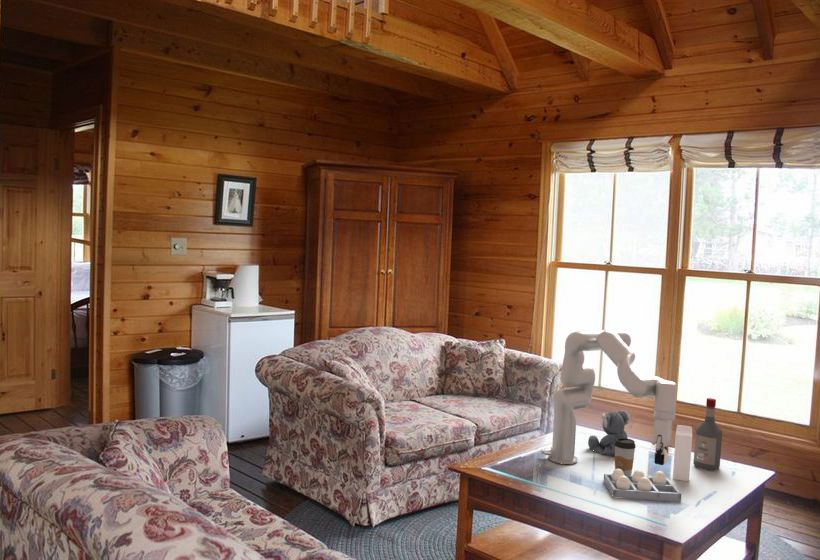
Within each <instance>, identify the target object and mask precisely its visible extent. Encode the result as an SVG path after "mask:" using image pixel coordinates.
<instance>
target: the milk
mask: <svg viewBox="0 0 820 560" xmlns="http://www.w3.org/2000/svg"><path fill="white" fill-rule="evenodd" d="M674 439H675V441H674V452H673V453H674V455H673V469H672V476H673V480H677V481H682V482H690V475H691V474H690V472H691V458H692V446H693V445H692V444H693V427H692V426H690V425H682V424H681V425H680V424H677V425H676V429H675V438H674Z"/></svg>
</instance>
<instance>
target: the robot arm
mask: <svg viewBox="0 0 820 560" xmlns="http://www.w3.org/2000/svg"><path fill="white" fill-rule="evenodd" d="M564 343H565V344H564V355H563V360H562V364H561V365H562V366H561V371H560V382H561V385H563V386H565V387H566V388H565V387H564V388H560V389H558V390H556V391H555V392H554V394H553V395H552V406H553V429H552V430H553V431H552V444H551V445H552V446H551V447H550V448H548V449H545V448H543V449H542V448H541V450H540V453H541V454H542V455H544V456H547V459H548V458H549V459H550V460H552V461H554V462H557V463H556V464H558V463H562V464H561V465H565V464H570V465H574V463H575V464H577V463H578V462H577V461H579V459H578V457H576V456H575V451H576V436H577V435H576V433H577V419H576V415H575V413H574V411H575V410H583V409H586V408H588V407H589V406H590V403H591V401H592V396H593V393H594V388H595V387H594V386H595V382H596V373H595V370H594V368H593V366H592V365H590V364H589V363H585V354H584V352H592V351H593V352H594V351H603V353H604V354H605V355H606V357H608V358H609V359H610V361H611V362H612V363H613V364H614V365H615V367H617V368H616V370H617V376H618V379H619V382H620V383H621V385H622V386H623V387H624V388H625V390H626V391H627V392H628V393H629V394H630V395H632V396H633V397H635V398H638V399H641V398H652V397H654V408H653V419H655V420H654V423H653V424H654V425H653V429H652V430H653V431H652V439H651V440H652V441H651V444H652V445H654V446H655V451H654V454H655V458H654V464H655V465H659V466H664V465H665V464H664V448H665V449H666V450H667V453H668V454H669V444H670V443H671V441H672V434H673V421H675V420H676V409H677V400H678V398H677V396H678V384H677V383H676V382H674V381H671V380H666V379H663V378H661V377H660V376H655V375H651V376H641V377H640V376H638V375H637V374H636V373H635V371H633V369H632V368H631V365H633V363H634V362H635V359H636V355H635V353H634V351H632V349H631V348H630V346H631V343H632V339H631V336H630V334H629V332H627V331H626V330H624V329H621V328H620V329H597V330H594V329H593V330H580V331H579V330H578V331H574V332H572V333H569V334H568V336H567V337H566V339H565V341H564ZM661 448H662V449H661ZM549 459H548V460H549ZM550 460H549V461H550ZM552 461H551V462H552ZM554 462H553V463H554ZM576 462H577V463H576Z"/></svg>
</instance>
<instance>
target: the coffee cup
mask: <svg viewBox="0 0 820 560" xmlns="http://www.w3.org/2000/svg"><path fill="white" fill-rule="evenodd" d="M614 445H615V456H614V470H615V469H621V470H622V471H623V473H624V475H628V476H632V472H633V467H634V466H633V465H634V461H635V460H634V459H635V458H634V456H635V452H636V442H635V440H633V439H632V438H617V439H616V441H615V444H614Z"/></svg>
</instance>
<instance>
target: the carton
mask: <svg viewBox="0 0 820 560" xmlns="http://www.w3.org/2000/svg"><path fill="white" fill-rule="evenodd" d="M603 483H604V484H605V487H606V488H607V489H609V490H608V491H609V493H610V492H611V493H610V494H611V496H612V495H613V496H612V498H613V497H622V498H621V499H628V498H635V499H634V500H644V499H648V500H647V501H663V502H665V501H666V502H682V496H683V495H682V493H681V492H680V491H679V489H678V488H677V487H676V486H675V485H674V484H673V482H672V481H671V480H670V479H669V478H668V477H666V474H665V472H663V471H662V470H657V471H655V472H654V475H653V476H646V475H645V473H644V471H642V470H641V469H636V470H634V472H633V474H631V476H628V475H624V473H623V471H622V470H621V469H615V468H614V470H613V472H612V473H610V474H609V473H608V474H607V473H603Z"/></svg>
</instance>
